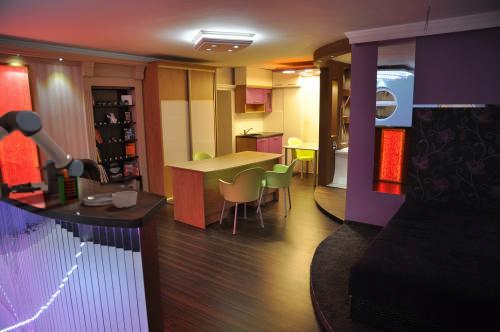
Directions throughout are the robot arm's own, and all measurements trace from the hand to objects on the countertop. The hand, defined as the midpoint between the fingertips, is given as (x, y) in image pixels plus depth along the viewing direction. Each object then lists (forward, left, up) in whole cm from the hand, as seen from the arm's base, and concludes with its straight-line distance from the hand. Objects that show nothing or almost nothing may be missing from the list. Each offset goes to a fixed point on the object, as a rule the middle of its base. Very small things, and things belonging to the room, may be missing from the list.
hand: (46, 185), depth 194 cm
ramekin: (+29, +35, -12) cm, 47 cm away
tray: (+11, +27, -12) cm, 31 cm away
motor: (0, +11, -12) cm, 16 cm away
